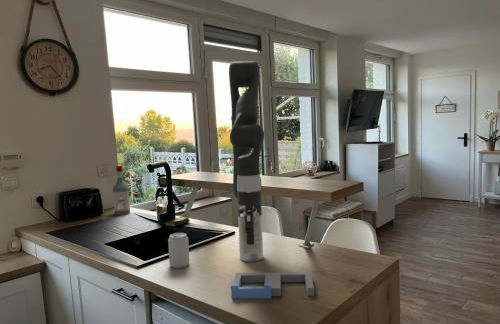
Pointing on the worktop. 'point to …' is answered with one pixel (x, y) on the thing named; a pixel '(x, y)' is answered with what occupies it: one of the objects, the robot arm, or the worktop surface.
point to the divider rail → (268, 284)
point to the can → (178, 250)
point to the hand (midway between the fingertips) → (251, 241)
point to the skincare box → (257, 236)
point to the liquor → (121, 194)
